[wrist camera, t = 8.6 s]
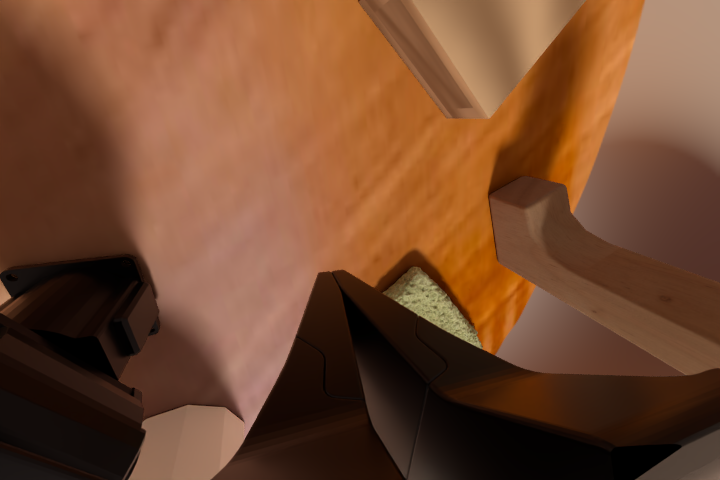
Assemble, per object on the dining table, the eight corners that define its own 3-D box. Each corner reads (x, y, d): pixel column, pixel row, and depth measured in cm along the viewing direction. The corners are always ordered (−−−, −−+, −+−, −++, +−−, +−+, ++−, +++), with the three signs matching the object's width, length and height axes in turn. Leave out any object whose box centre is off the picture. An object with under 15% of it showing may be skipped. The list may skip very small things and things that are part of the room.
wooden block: (486, 194, 26) (811, 303, 11) (523, 173, 27) (881, 250, 12) (496, 263, 31) (737, 409, 16) (527, 244, 32) (791, 367, 16)
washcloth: (403, 399, 36) (415, 422, 33) (317, 338, 27) (324, 363, 24) (477, 334, 36) (496, 352, 33) (417, 251, 27) (435, 266, 24)
